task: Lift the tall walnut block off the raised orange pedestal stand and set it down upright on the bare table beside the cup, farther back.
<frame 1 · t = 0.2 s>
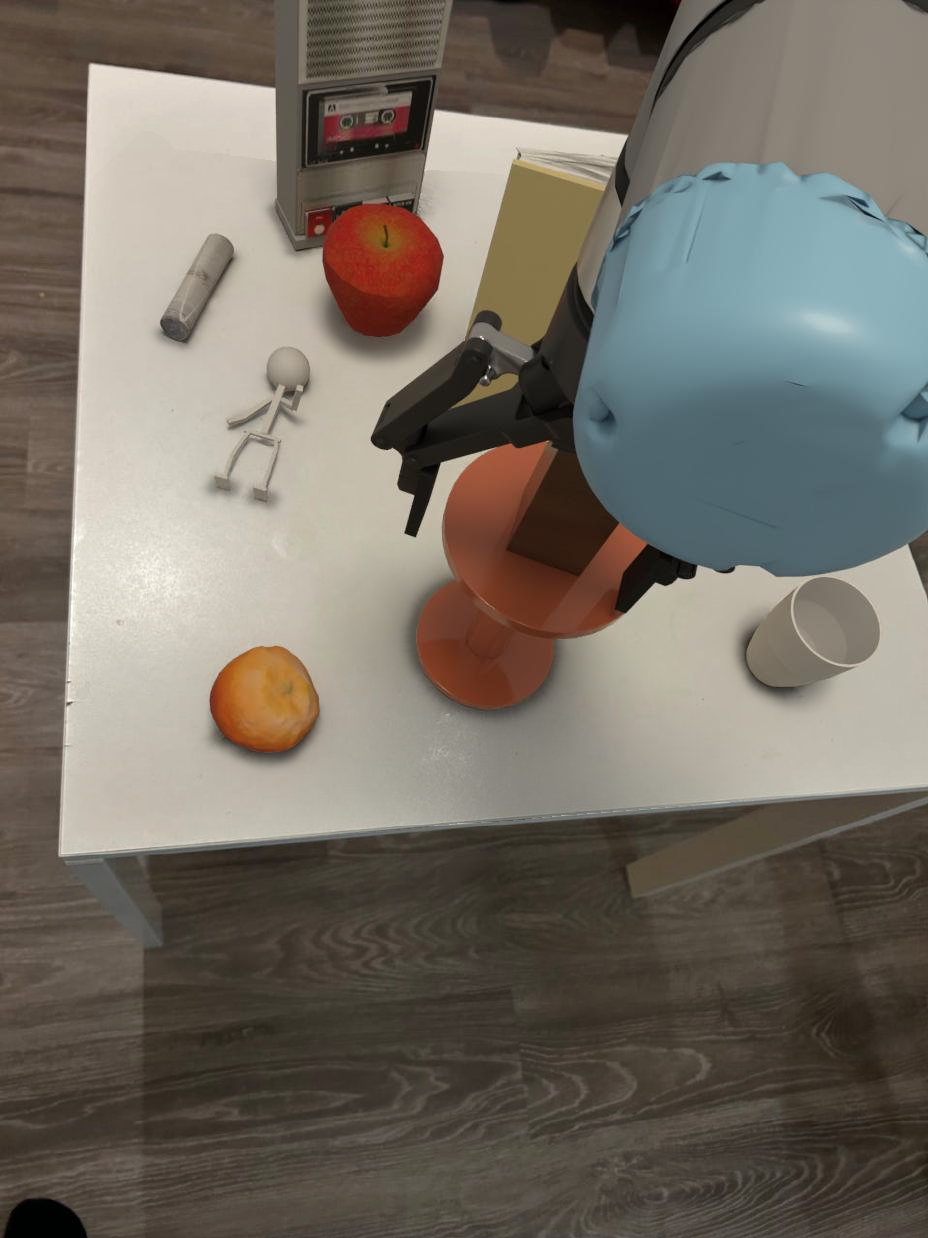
hand: (521, 555, 50), 21 cm above the table, tool pointing down, fingers open, 13 cm apart
walnut block: (551, 531, 53), point 20 cm above the table, touching orange pedestal stand
orange pedestal stand: (484, 643, 71), on the table
apple: (374, 324, 82), on the table
headphones: (627, 266, 92), on the table
figurine: (265, 428, 75), on the table
cup: (770, 662, 76), on the table
rod: (199, 297, 79), on the table
cassette tape recorder: (348, 222, 87), on the table
book: (622, 426, 83), on the table
fruit: (266, 714, 65), on the table
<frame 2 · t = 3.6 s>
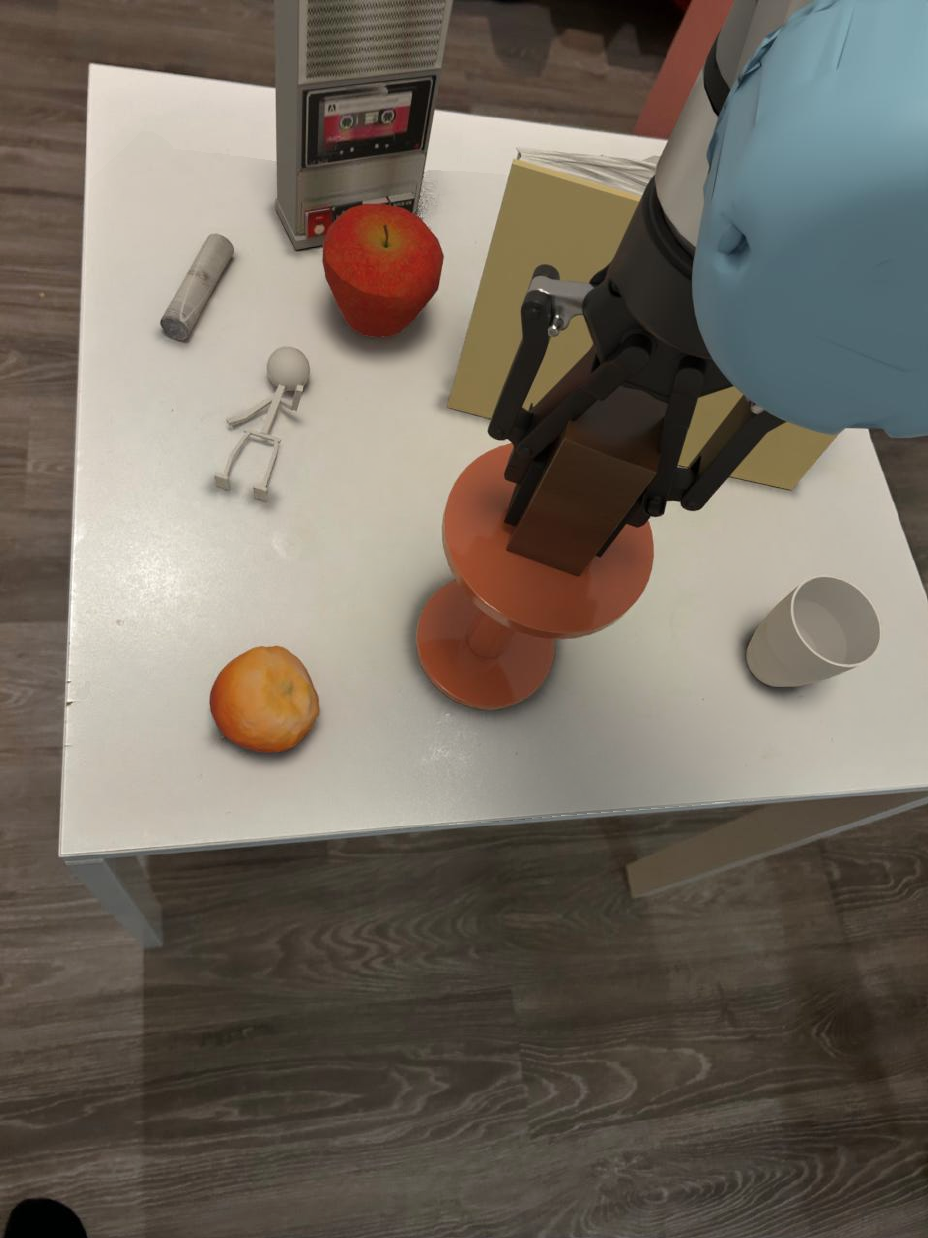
hand: (557, 522, 51), 21 cm above the table, tool pointing down, fingers closed on walnut block, 5 cm apart
walnut block: (551, 531, 53), point 20 cm above the table, touching gripper, orange pedestal stand
everything else where it was.
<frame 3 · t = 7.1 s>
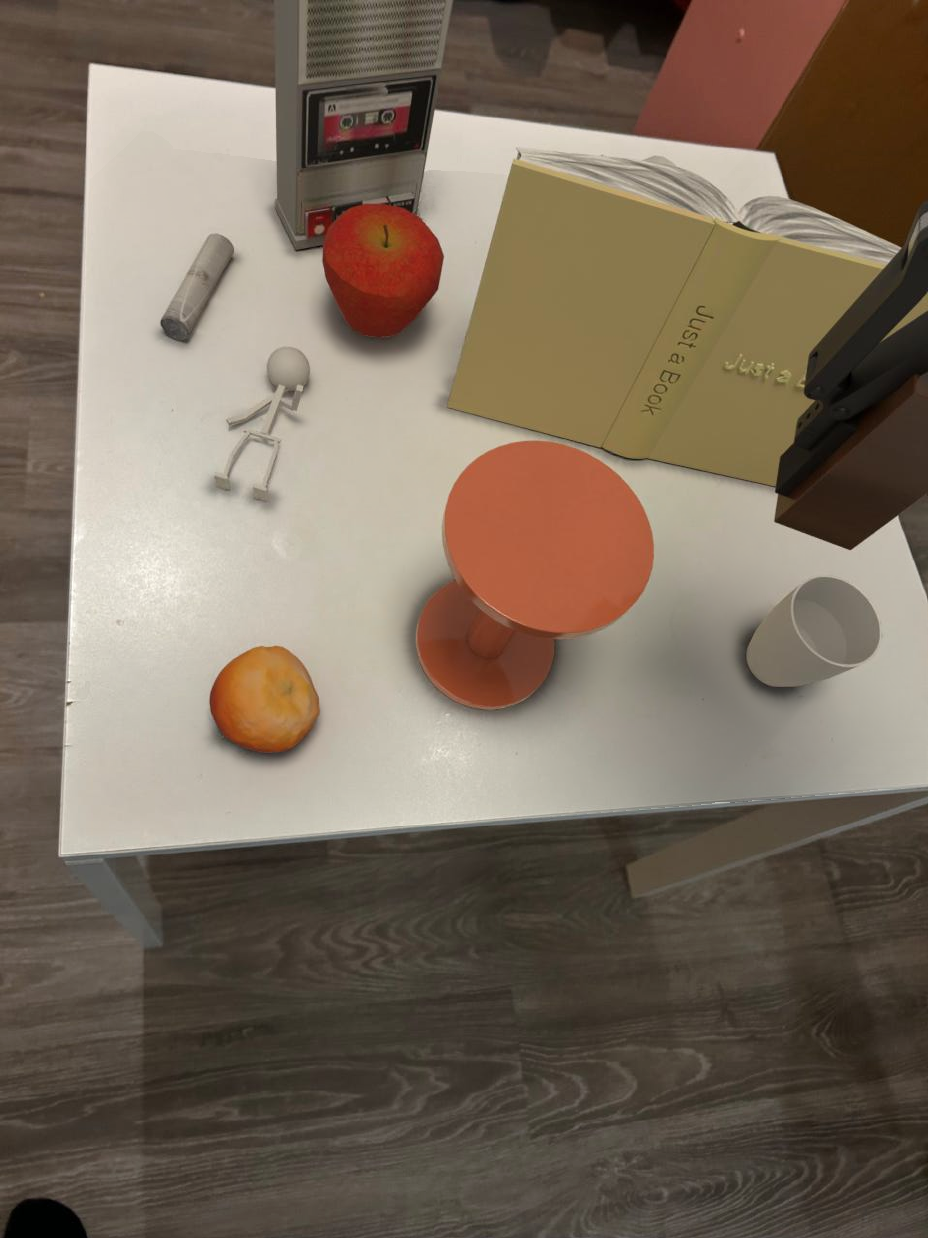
hand: (828, 492, 48), 28 cm above the table, tool pointing down, fingers closed on walnut block, 5 cm apart
walnut block: (816, 502, 49), point 26 cm above the table, touching gripper
everything else where it was.
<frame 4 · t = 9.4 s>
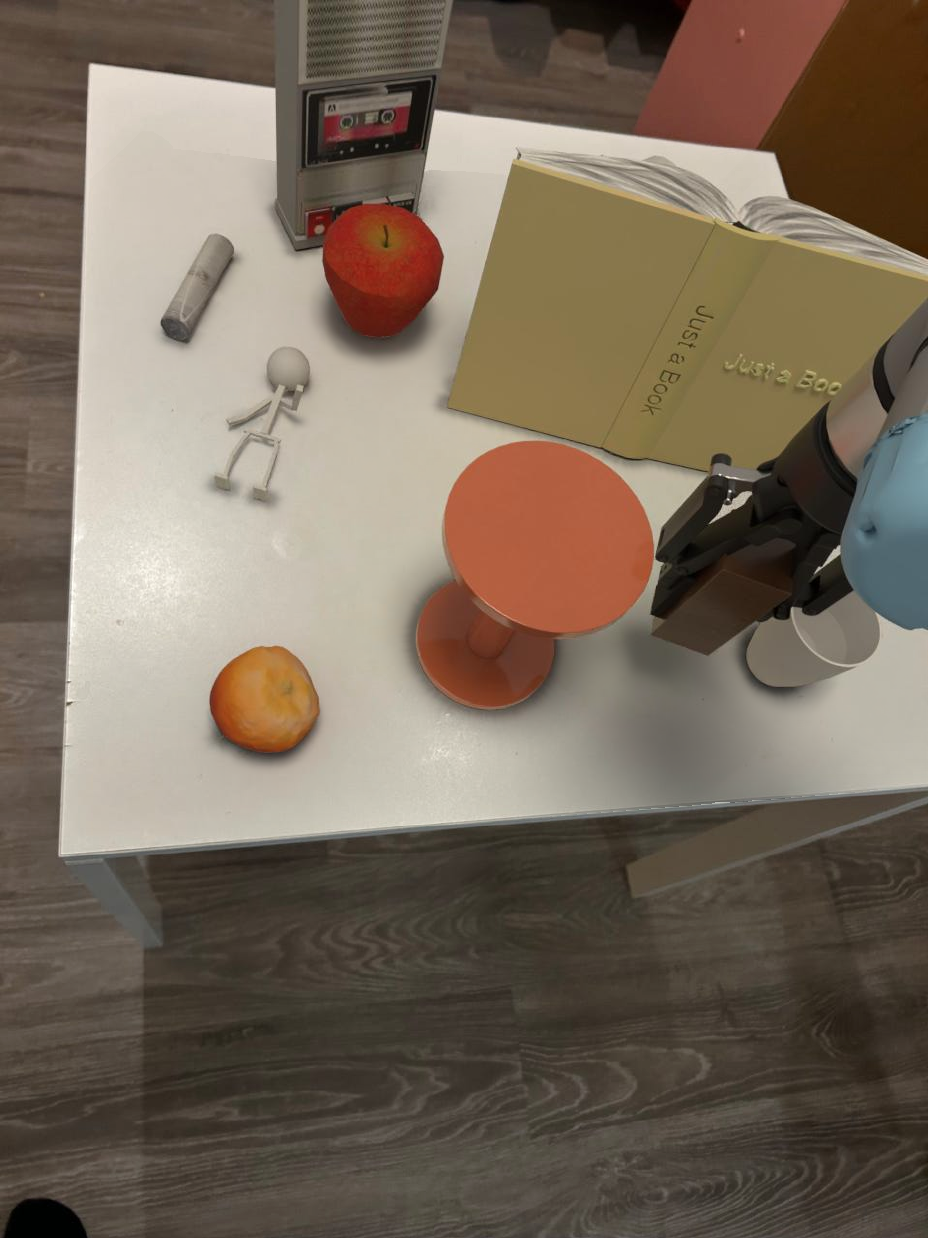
hand: (691, 613, 65), 10 cm above the table, tool pointing down, fingers closed on walnut block, 5 cm apart
walnut block: (684, 618, 66), point 8 cm above the table, touching gripper
everything else where it was.
when the fingers open (1 cm above the table, at t = 11.1 s): walnut block stays where it is, on the table.
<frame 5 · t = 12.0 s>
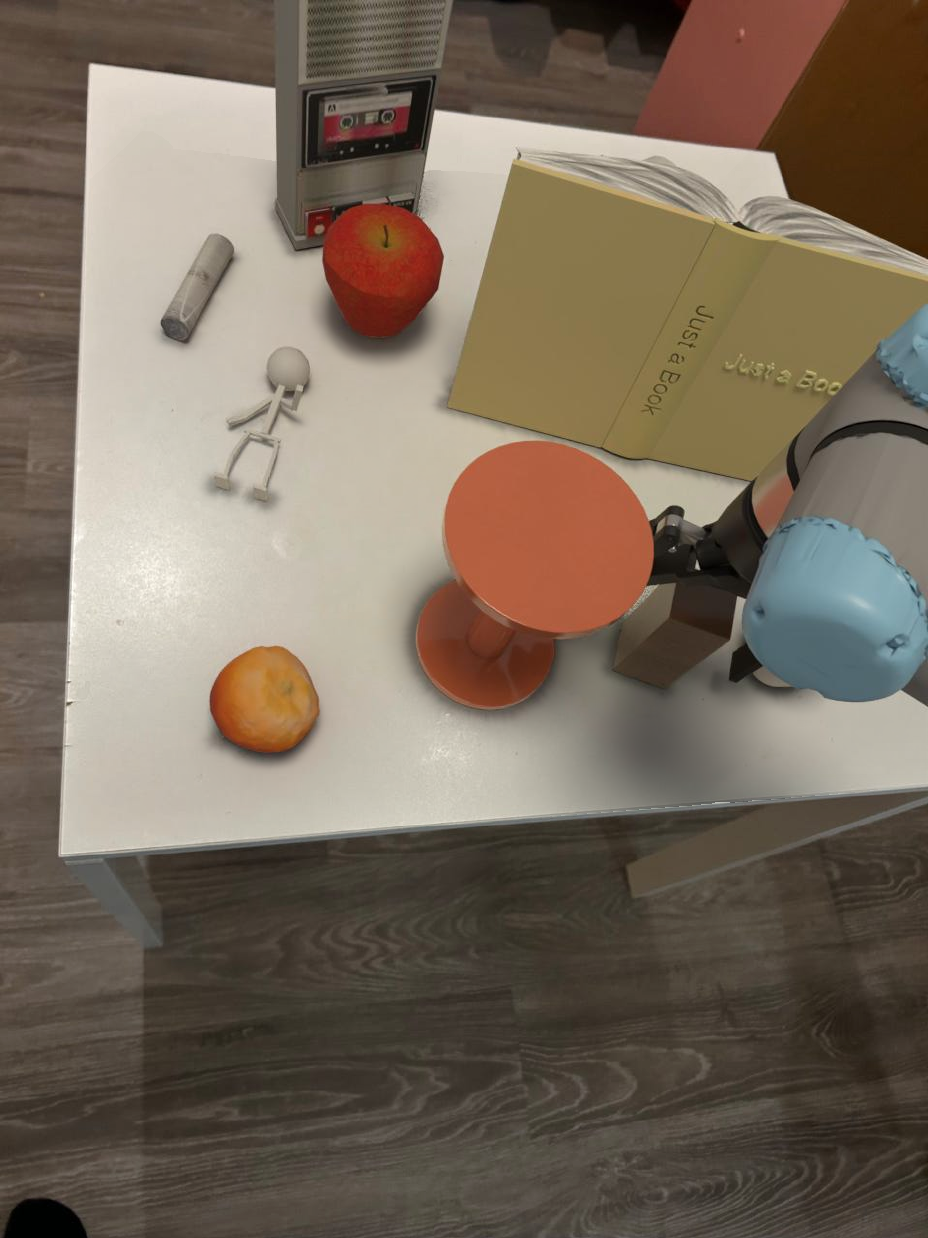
hand: (660, 641, 70), 4 cm above the table, tool pointing down, fingers open, 13 cm apart
walnut block: (643, 655, 73), on the table
everything else where it was.
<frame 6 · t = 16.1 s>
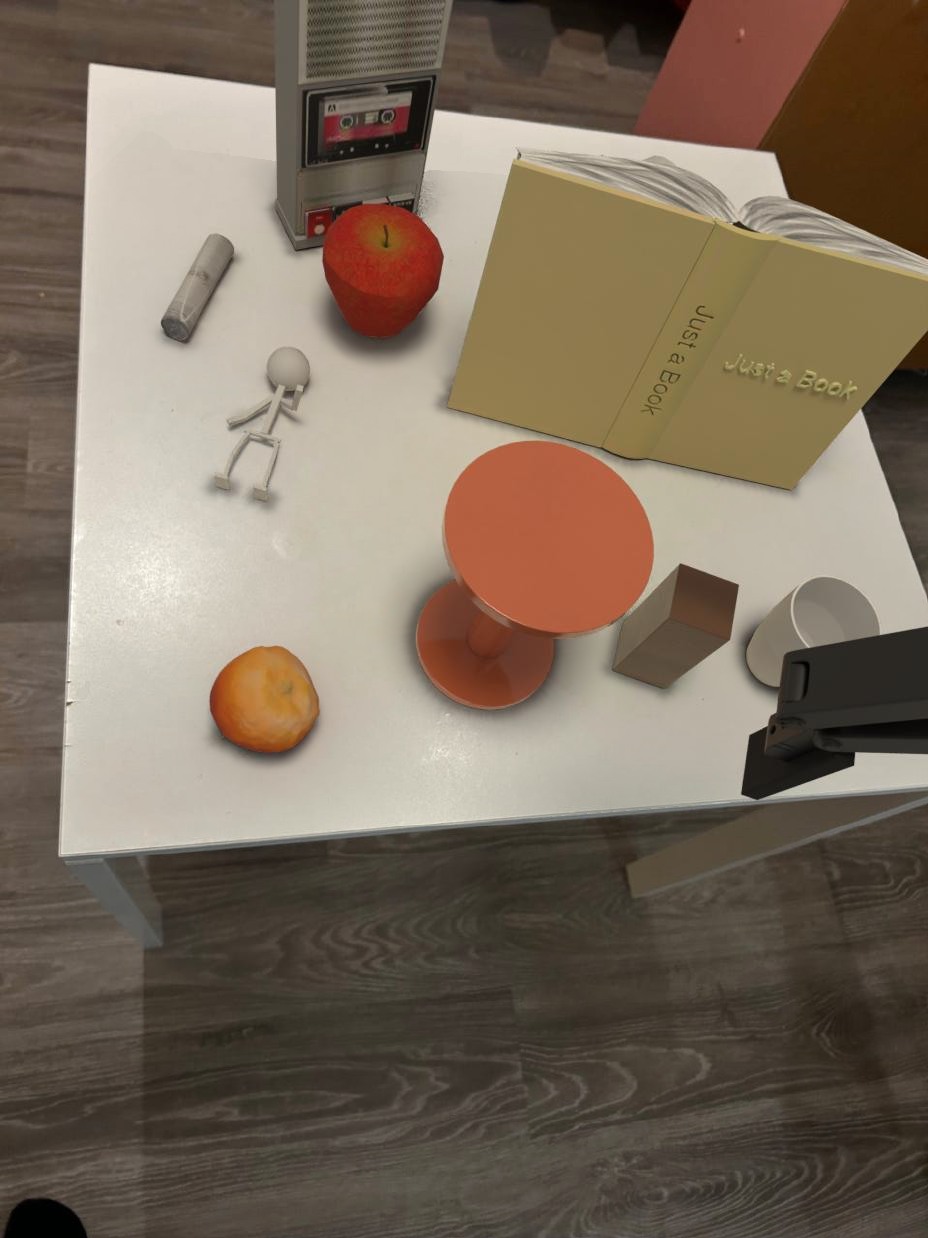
hand: (897, 818, 35), 33 cm above the table, tool pointing down, fingers open, 13 cm apart
nothing on the table moved.
at the end: walnut block touching table; walnut block tilted 0°; walnut block 12.6 cm from the cup (horizontally) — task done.
